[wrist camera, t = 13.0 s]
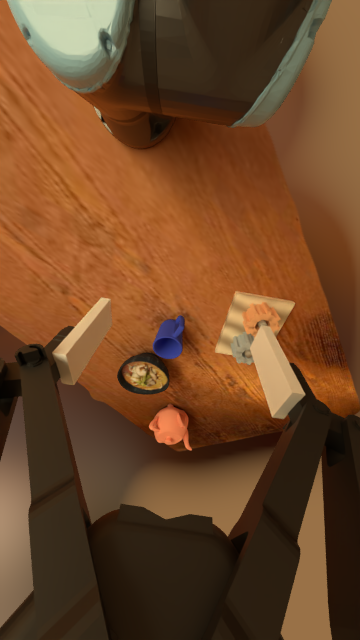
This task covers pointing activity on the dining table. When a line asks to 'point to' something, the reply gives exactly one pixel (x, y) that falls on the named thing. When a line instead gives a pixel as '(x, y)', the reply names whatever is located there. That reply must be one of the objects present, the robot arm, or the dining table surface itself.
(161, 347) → the mug
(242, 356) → the gear
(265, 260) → the dining table surface
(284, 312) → the board
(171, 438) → the teapot
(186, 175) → the dining table surface
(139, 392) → the bowl
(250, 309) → the gear
